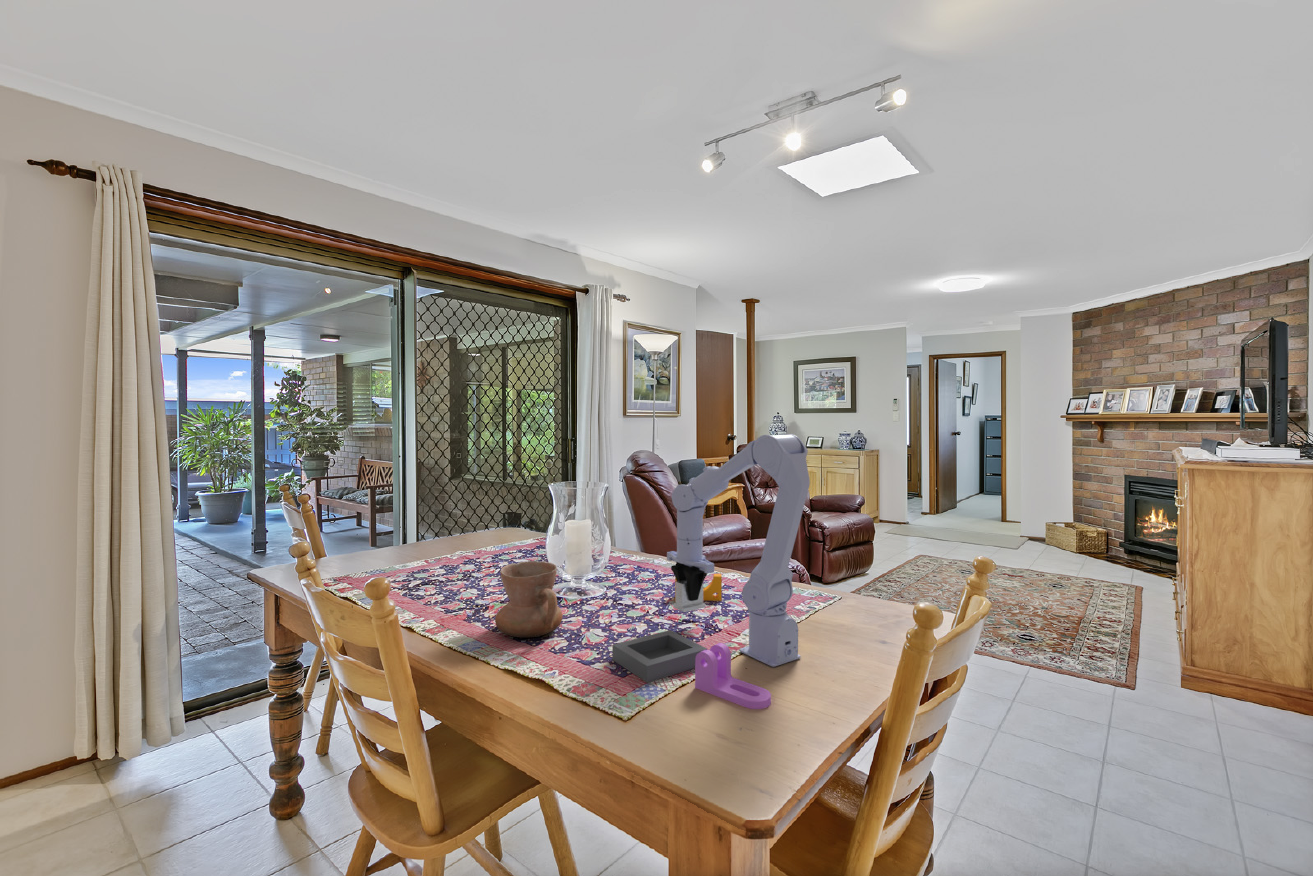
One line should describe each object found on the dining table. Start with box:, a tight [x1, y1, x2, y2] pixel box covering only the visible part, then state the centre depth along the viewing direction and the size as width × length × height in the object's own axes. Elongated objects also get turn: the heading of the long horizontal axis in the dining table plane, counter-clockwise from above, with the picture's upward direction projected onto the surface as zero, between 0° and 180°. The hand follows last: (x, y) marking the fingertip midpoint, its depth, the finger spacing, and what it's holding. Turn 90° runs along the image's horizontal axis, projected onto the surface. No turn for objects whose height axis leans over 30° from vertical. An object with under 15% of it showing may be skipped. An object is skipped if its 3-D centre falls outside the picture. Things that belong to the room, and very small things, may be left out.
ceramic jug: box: [494, 560, 564, 638], centre depth 130 cm, size 18×14×14 cm
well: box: [611, 629, 709, 683], centre depth 114 cm, size 12×14×3 cm
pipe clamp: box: [674, 573, 723, 603], centre depth 154 cm, size 12×4×6 cm, turn 88°
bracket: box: [694, 642, 772, 710], centre depth 101 cm, size 13×6×7 cm, turn 49°
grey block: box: [673, 580, 707, 613], centre depth 132 cm, size 4×6×6 cm, turn 125°
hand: (689, 598), depth 132 cm, fingers closed on grey block, 2 cm apart
